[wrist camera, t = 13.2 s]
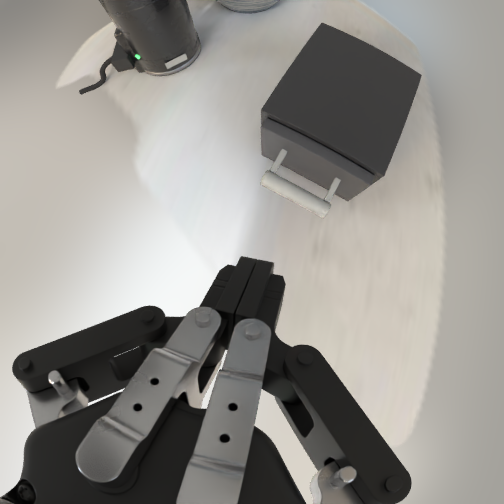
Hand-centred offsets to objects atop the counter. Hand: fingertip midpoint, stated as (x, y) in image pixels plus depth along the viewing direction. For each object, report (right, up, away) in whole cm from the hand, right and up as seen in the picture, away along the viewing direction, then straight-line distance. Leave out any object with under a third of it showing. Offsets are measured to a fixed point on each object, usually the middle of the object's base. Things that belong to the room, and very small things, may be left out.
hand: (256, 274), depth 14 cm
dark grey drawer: (+8, +14, +19) cm, 25 cm away
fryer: (+10, +17, +20) cm, 28 cm away
